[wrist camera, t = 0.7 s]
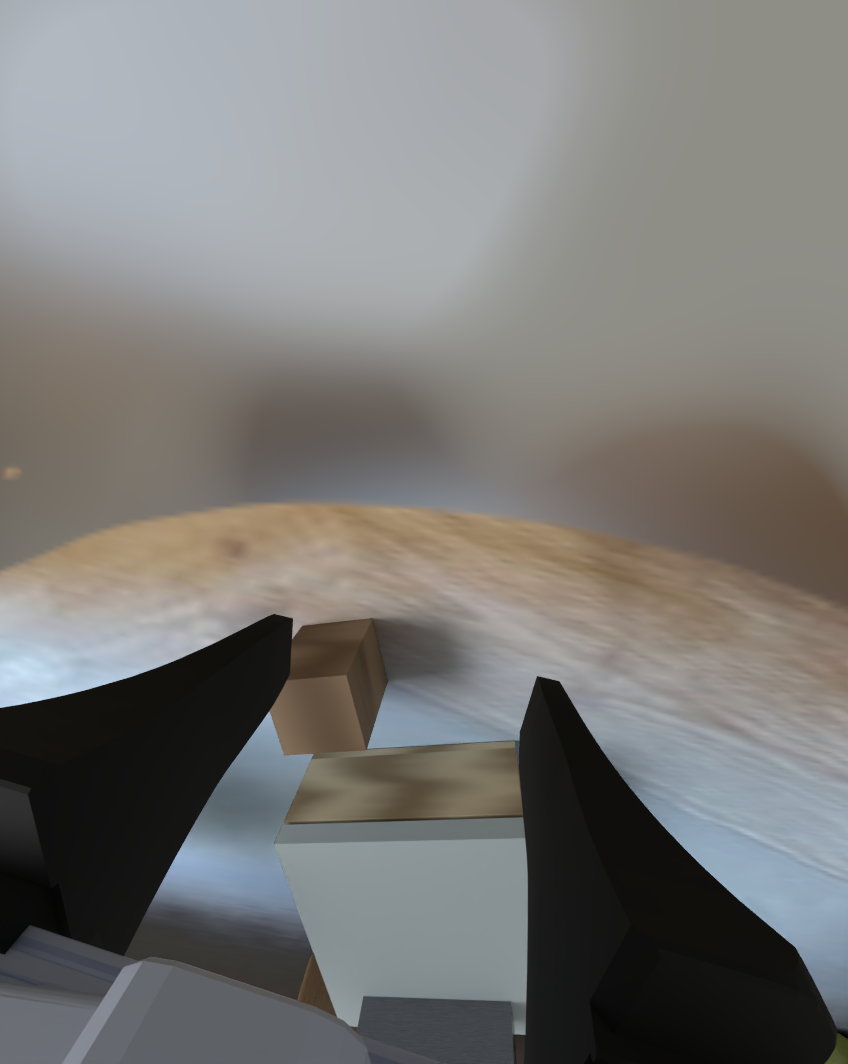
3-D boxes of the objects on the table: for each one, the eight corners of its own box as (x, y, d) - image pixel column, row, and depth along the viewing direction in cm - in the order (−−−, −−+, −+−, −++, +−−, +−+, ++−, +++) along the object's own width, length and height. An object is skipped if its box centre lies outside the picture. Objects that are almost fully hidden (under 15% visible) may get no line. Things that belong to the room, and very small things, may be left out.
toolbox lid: (345, 1003, 26) (326, 1091, 23) (282, 824, 22) (248, 900, 19) (552, 1011, 24) (563, 1109, 21) (522, 817, 20) (531, 900, 17)
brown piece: (364, 914, 31) (346, 998, 26) (314, 752, 27) (283, 821, 22) (540, 915, 29) (551, 1006, 24) (514, 740, 25) (522, 813, 20)
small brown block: (320, 687, 25) (284, 755, 21) (302, 625, 24) (260, 682, 19) (387, 681, 25) (366, 750, 20) (372, 617, 23) (346, 674, 19)
